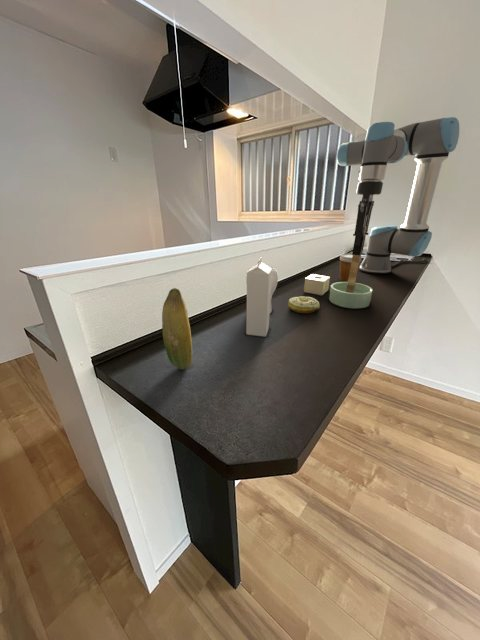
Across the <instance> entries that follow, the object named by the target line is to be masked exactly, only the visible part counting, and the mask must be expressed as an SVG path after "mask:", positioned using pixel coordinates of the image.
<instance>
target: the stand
mask: <svg viewBox="0 0 480 640" xmlns="http://www.w3.org/2000/svg"><path fill="white" fill-rule="evenodd" d="M330 280H331V276H326V275H320V274H316V273H315V274H314V273H311V274H310V275H308V276H307V277H305V279H304V287H303V293H308V294H313V295H318V296H323V295H325V293H326V292H328V291H329V286H330Z"/></svg>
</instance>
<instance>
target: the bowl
mask: <svg viewBox="0 0 480 640" xmlns="http://www.w3.org/2000/svg"><path fill="white" fill-rule="evenodd" d="M347 284H348V282H342V281H338V282H333V283H331V285H330V290H329V295H328V300H329V301H330V303H331V304H333V305H335V306H338V307H341V308H347V309H364V308H367V307H369V306H370V305H371V300H372V296H373V291H374V290H373V287H371V286H369V285H366V284H363V283H360V282H356V284H355V290H354V292H353V293H349V292H346V289H347Z"/></svg>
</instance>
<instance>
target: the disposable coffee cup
mask: <svg viewBox="0 0 480 640" xmlns="http://www.w3.org/2000/svg"><path fill="white" fill-rule="evenodd" d="M352 257H353V255H352V253H343V254H341V255H340V257H339V260H340V261H339V282H348V279H349V273H350V268H351V262H352ZM361 261H362V257H361V258H360V262H361Z"/></svg>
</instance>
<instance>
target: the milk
mask: <svg viewBox="0 0 480 640" xmlns="http://www.w3.org/2000/svg"><path fill="white" fill-rule="evenodd" d="M270 267H271V266H268V265H267V264H266V263H264V262H263V257H262V256H260V258H259V259H258V260H257V264H255V265H253V266H251V267H249V268H250V270H249V271H248V270H247V272H246V277H247V283H246V321H245V323H246V326H245V327H246V329H245V330H246V332H245V333H246V334H245V335H247V336H257V337H263V338H264V337H265V338H267V335H268V332H269V329H270V317H271V313H270V296H271V276H272V268H273V267H272V268H270Z"/></svg>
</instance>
